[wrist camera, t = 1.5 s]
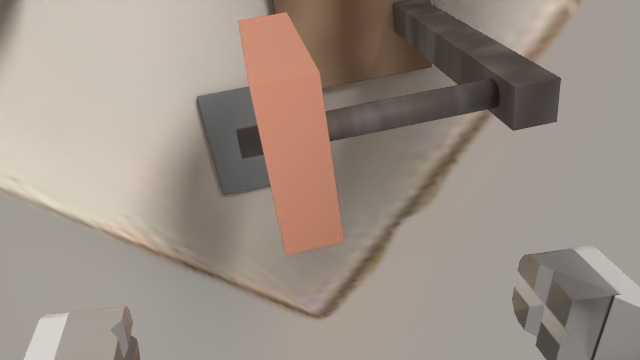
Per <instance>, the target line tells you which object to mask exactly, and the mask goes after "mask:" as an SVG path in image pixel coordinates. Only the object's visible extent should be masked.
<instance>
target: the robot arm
mask: <svg viewBox="0 0 640 360" xmlns="http://www.w3.org/2000/svg"><path fill="white" fill-rule="evenodd" d="M518 271H519V273H520V275H521V276H522V279H521V280H520V281H519V282H518V283H517V284H516V286H515V287H514V292H513V298H512V301H513V307H514V312H515V315H516V317H517V319H518V321H519V323H520V324H521V326H522V327H523V329H524V330H526V331H527V332H530V333H531V334H533V335H535V336H537V339H536V346H537V348H538V349H539V350H540V352H541V353H542V354H543V356H544V357H545V358H546V360H640V287H639V286H637V285H636V284H635V283H634V282H633V281H632V280H631V279H630V278H629V277H627V276H626V275H625V274H624V273H623V272H622V271H621V270H620V269H619V268H617V267H616V266H615V265H614V264H613V263H612V262H611V261H610V260H609V259H608V258H606V257H605V256H604V255H603V254H602V253H601V252H600V251H598V249H596V248H594V247H592V246H589V245H588V246H581V247H575V248H568V249H566V250H557V251H550V252H543V253H536V254H528V255H524V256H523V257H522V259H521V260H520V263H519V268H518ZM132 322H133V321H132V318H131V314H130V310H129V308H128V307H127V306H122V307H113V308H103V309H95V310H85V311H76V312H72V313H62V314H53V315H44V316H43V317H42V318H41V319H40V320H39V321H38V323H37V325H36V328H35V330H34V333H33V335H32V338H31V340H30V343H29V345H28V348H27V350H26V353H25V355H24V358H23V360H140V355H139V348H138V343H137V339H135V338H134V337H133V336H131V329H132Z"/></svg>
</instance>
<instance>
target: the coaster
mask: <svg viewBox="0 0 640 360" xmlns="http://www.w3.org/2000/svg"><path fill="white" fill-rule="evenodd" d="M197 99H198V103H199V107H200V110H201V114H202V118H203V121H204V125H205V129H206V132H207V136H208V140H209V143H210V147H211V151H212V154H213V158H214V162H215V165H216V169H217V173H218V176H219V180H220V184H221V187H222V191H223V195H227V194H232V193H237V192H241V191H246V190H251V189H256V188H261V187H265V186H270V180H269V176H268V171H267V166H266V162H265V157H264V155H260V156H255V157H250V158H245V159H242V156H241V152H240V148H239V143H238V138H237V132H236V129H239V128H244V127H249V126H254V125H257V120H256V116H255V111H254V106H253V102H252V97H251V93H250V88H249V87H245V88H240V89H234V90H229V91H224V92H219V93H214V94H208V95H203V96H198V98H197Z"/></svg>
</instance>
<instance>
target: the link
mask: <svg viewBox="0 0 640 360" xmlns="http://www.w3.org/2000/svg"><path fill="white" fill-rule="evenodd" d="M238 23H239V29H240V35H241V41H242V47H243V53H244V59H245V65H246V71H247V77H248V83H249V88H250V93H251V97H252V102H253V106H254V111H255V116H256V120H257V125H258V129H259V134H260V139H261V143H262V148H263V152H264V157H265V162H266V166H267V171H268V176H269V180H270V185H271V189H272V194H273V199H274V203H275V208H276V212H277V217H278V222H279V226H280V231H281V235H282V240H283V245H284V249H285V254H286V255H290V254H295V253H300V252H304V251H309V250H313V249H318V248H322V247H327V246H332V245H336V244H341V243H344V238H343V231H342V224H341V217H340V210H339V203H338V196H337V189H336V182H335V175H334V169H333V162H332V155H331V148H330V141H329V134H328V127H327V120H326V113H325V106H324V99H323V92H322V85H321V78H320V72H319V70H318V69H317V67H316V65H315V63H314V61H313V60H312V58H311V56H310V54H309V52H308V50H307V49H306V47H305V45H304V43H303V41H302V39H301V38H300V36H299V34H298V32H297V30H296V29H295V27H294V25H293V23H292V21H291V19H290V18H289V16H288V14H287V12H285V13H279V14H274V15H268V16H263V17H257V18H252V19H246V20H241V21H238Z"/></svg>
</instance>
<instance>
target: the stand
mask: <svg viewBox="0 0 640 360" xmlns="http://www.w3.org/2000/svg"><path fill="white" fill-rule="evenodd" d="M273 5H274V11H275V14H279V13H285V12H287V14H288V16H289V18H290V19H291V21H292V23H293V25H294V27H295V29H296V30H297V32H298V34H299V36H300V38H301V39H302V41H303V43H304V45H305V47H306V49H307V50H308V52H309V54H310V56H311V58H312V60H313V61H314V63H315V65H316V67H317V69H318V70H319V72H320V78H321V85H322V88H326V87H331V86H336V85H342V84H347V83H352V82H357V81H362V80H367V79H372V78H378V77H383V76H388V75H393V74H398V73H403V72H408V71H413V70H419V69H424V68H429V67H432V63H433V64H434V65H435V66H436V67H438V68H439V69H440V70H441V71H442V72H444V73H445V74H446V75H447V76H448V77H450V78H451V79H452V80H453V81H454V82H455V83H457V84H458V85H456V86H451V87H446V88H441V89H436V90H431V91H426V92H421V93H416V94H411V95H406V96H401V97H396V98H391V99H385V100H380V101H375V102H370V103H365V104H360V105H355V106H350V107H345V108H340V109H335V110H330V111H325V113H326V120H327V127H328V134H329V141H334V140H339V139H344V138H349V137H354V136H358V135H363V134H368V133H373V132H378V131H383V130H388V129H393V128H398V127H403V126H408V125H413V124H418V123H423V122H427V121H432V120H437V119H442V118H447V117H452V116H457V115H462V114H467V113H472V112H477V111H482V110H487V109H488V110H489V111H490V112H491V113H493V114H494V115H495V116H496V117H497V118H499V119H500V120H501V121H502V122H503V123H505V124H506V125H507V126H508V127H509V128H510V129H512V130H513V131H514V130H519V129H524V128H529V127H533V126H538V125H543V124H548V123H552V122H557V113H558V103H559V92H560V82H561V78H560V77H558V76H556V75H555V74H553V73H551V72H549V71H548V70H546V69H544V68H542V67H541V66H539V65H537V64H535V63H534V62H532V61H530V60H528V59H527V58H525V57H523V56H521V55H519V54H518V53H516V52H514V51H512V50H511V49H509V48H507V47H505V46H504V45H502V44H500V43H498V42H497V41H495V40H493V39H491V38H490V37H488V36H486V35H484V34H483V33H481V32H479V31H477V30H476V29H474V28H472V27H470V26H468V25H467V24H465V23H463V22H461V21H460V20H458V19H456V18H454V17H453V16H451V15H449V14H447V13H446V12H444V11H442V10H440V9H439V8H437V7H435V6H433V5H432V4H430V1H429V0H273ZM431 62H432V63H431ZM236 132H237V138H238V143H239V148H240V152H241V156H242V159H245V158H250V157H255V156H260V155H264V152H263V148H262V143H261V139H260V134H259V129H258V125H254V126H249V127H244V128H239V129H236Z"/></svg>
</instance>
